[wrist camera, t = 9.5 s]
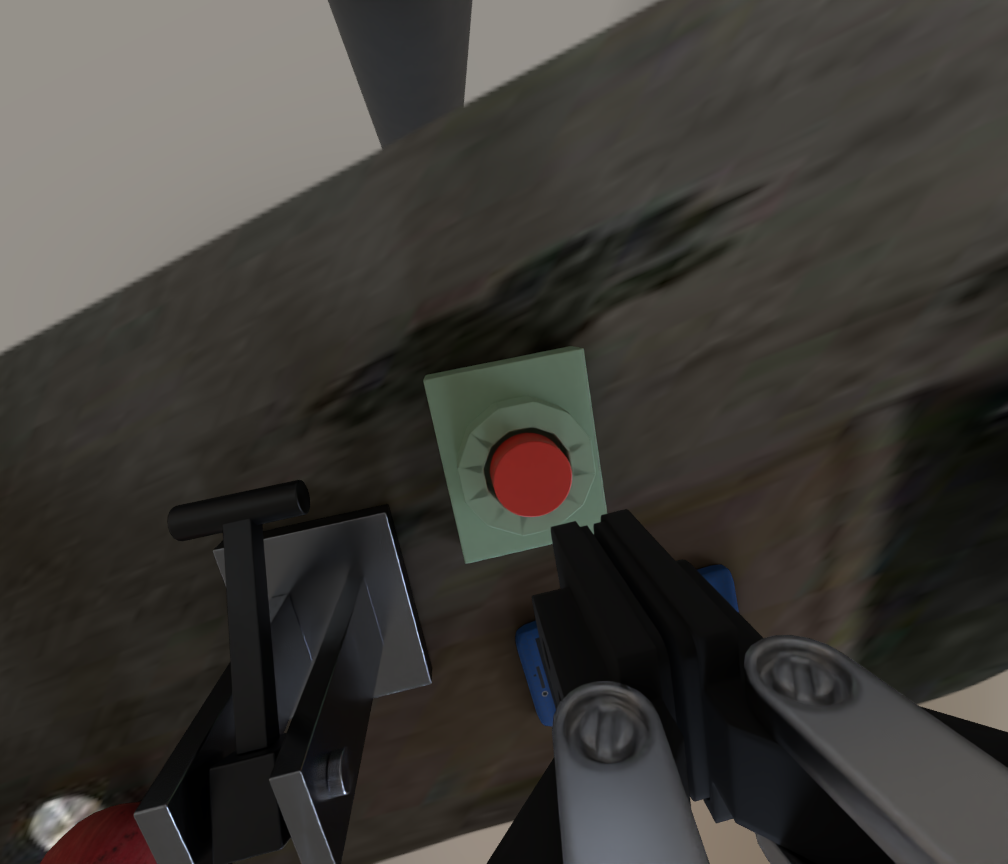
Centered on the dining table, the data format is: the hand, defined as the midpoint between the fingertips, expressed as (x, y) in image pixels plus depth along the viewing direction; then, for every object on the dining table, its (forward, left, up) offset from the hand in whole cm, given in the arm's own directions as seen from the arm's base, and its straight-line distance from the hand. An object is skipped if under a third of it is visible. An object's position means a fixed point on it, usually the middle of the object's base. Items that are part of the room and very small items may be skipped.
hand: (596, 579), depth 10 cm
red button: (+2, 0, -13) cm, 13 cm away
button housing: (+2, 0, -16) cm, 16 cm away
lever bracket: (+9, -12, -16) cm, 22 cm away
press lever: (+5, -12, -9) cm, 15 cm away
